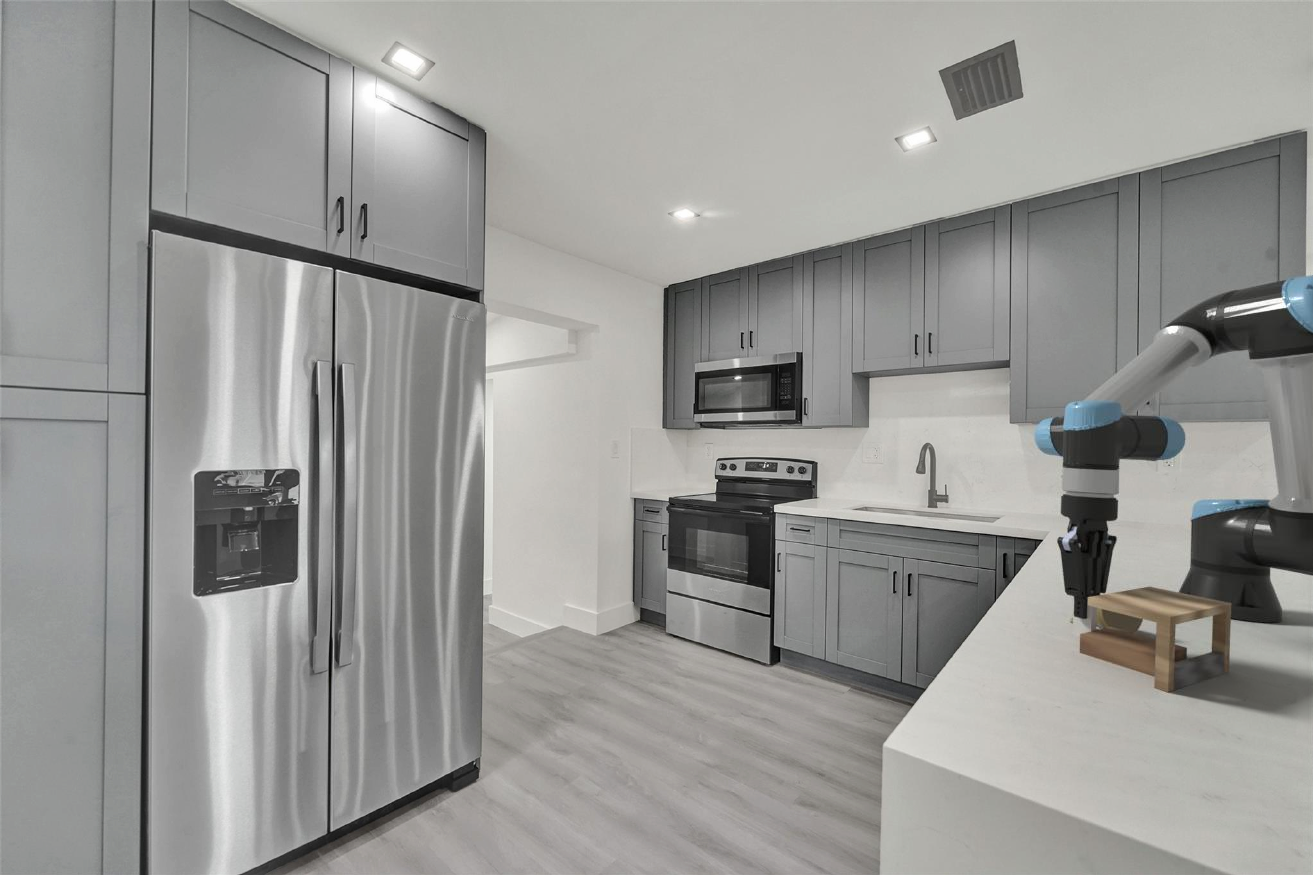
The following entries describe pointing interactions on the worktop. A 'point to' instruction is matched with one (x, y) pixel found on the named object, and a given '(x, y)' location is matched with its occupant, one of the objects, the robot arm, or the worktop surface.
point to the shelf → (1166, 614)
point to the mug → (1116, 620)
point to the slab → (1125, 649)
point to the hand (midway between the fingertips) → (1084, 636)
